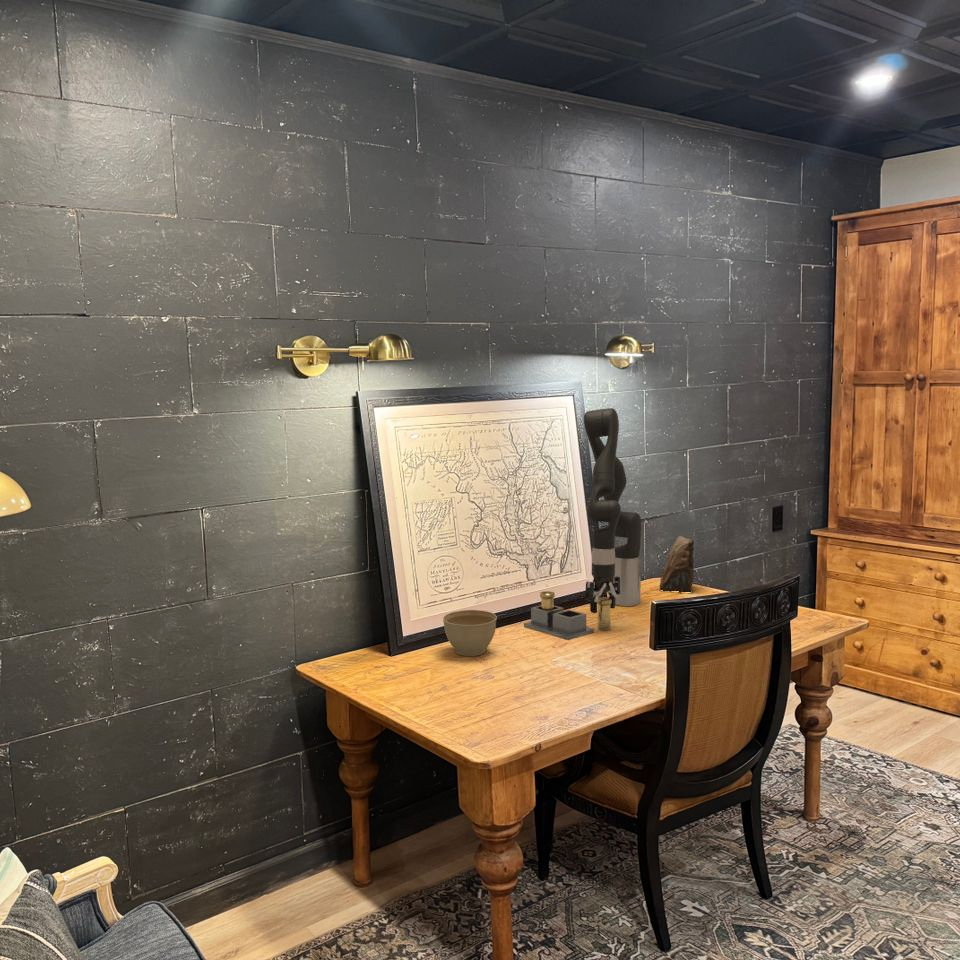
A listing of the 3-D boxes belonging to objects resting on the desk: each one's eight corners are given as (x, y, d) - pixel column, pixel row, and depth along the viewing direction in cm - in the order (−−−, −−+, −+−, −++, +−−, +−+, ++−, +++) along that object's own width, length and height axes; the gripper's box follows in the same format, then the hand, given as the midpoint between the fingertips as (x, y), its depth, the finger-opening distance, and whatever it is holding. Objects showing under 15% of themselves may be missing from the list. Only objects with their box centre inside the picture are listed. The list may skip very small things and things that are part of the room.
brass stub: (603, 626, 299) (603, 596, 298) (614, 629, 295) (614, 599, 294) (593, 629, 296) (593, 599, 294) (604, 632, 292) (604, 602, 291)
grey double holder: (549, 619, 307) (549, 587, 306) (593, 632, 292) (593, 598, 291) (523, 626, 299) (523, 593, 298) (568, 639, 284) (568, 605, 283)
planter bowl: (438, 646, 280) (437, 612, 278) (488, 641, 284) (488, 607, 282) (450, 662, 264) (449, 626, 263) (503, 657, 268) (503, 621, 267)
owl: (674, 584, 354) (675, 533, 351) (704, 589, 345) (705, 537, 343) (657, 590, 345) (658, 538, 342) (687, 596, 336) (688, 542, 334)
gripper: (609, 556, 300) (608, 604, 302) (579, 562, 291) (579, 611, 293) (626, 560, 294) (626, 609, 296) (597, 566, 285) (596, 616, 287)
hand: (602, 610), depth 295 cm, fingers open, 8 cm apart
